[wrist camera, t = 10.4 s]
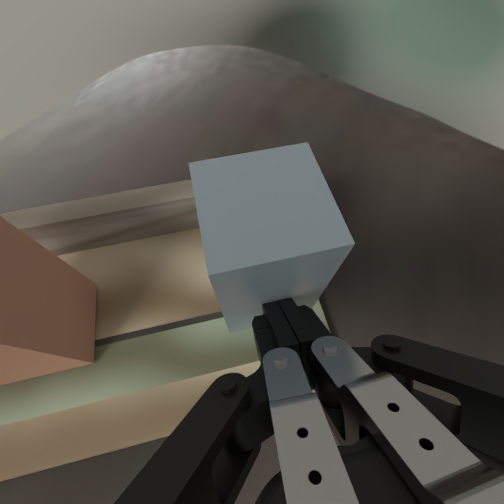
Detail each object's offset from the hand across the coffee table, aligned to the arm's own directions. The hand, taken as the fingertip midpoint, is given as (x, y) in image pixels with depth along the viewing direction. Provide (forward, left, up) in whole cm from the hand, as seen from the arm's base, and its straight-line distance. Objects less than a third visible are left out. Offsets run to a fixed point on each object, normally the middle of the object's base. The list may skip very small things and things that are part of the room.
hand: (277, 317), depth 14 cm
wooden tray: (-7, 0, -4) cm, 8 cm away
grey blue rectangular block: (-1, +3, -4) cm, 5 cm away
